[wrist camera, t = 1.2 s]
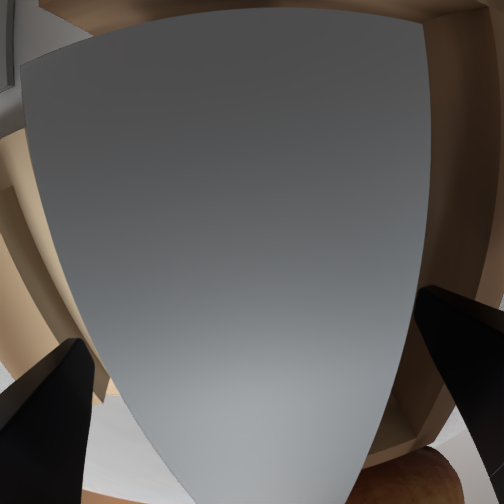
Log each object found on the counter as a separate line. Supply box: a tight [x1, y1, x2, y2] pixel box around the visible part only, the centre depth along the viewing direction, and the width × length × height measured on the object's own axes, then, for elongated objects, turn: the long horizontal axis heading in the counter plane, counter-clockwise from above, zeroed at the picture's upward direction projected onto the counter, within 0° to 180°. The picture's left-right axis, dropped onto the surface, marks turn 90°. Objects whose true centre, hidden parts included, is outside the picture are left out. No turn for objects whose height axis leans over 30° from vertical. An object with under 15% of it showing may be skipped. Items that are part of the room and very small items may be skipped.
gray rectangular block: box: [20, 8, 431, 504], centre depth 8 cm, size 4×12×8 cm, turn 6°
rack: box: [39, 0, 504, 469], centre depth 10 cm, size 12×20×5 cm, turn 6°
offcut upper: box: [0, 185, 110, 405], centre depth 10 cm, size 4×9×2 cm, turn 13°
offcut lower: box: [0, 127, 120, 396], centre depth 11 cm, size 5×12×2 cm, turn 8°
